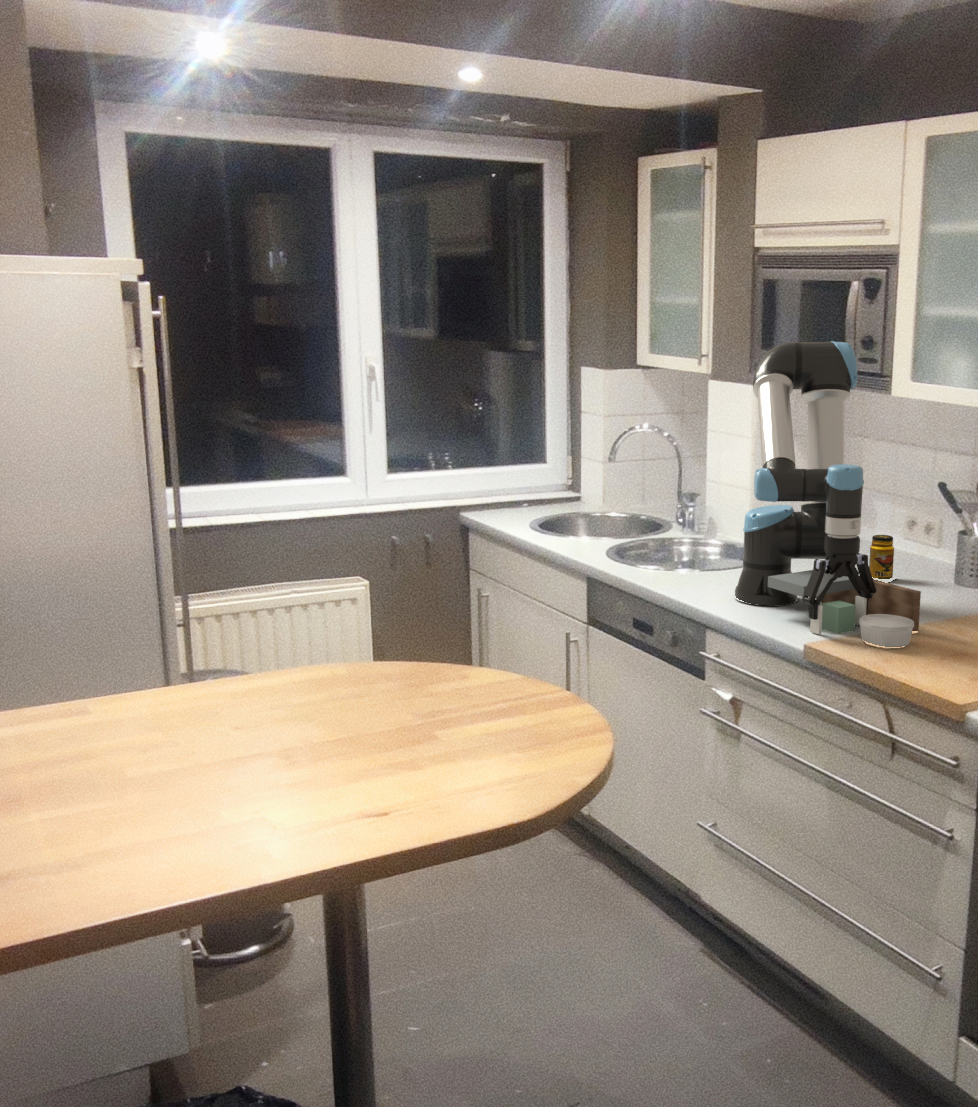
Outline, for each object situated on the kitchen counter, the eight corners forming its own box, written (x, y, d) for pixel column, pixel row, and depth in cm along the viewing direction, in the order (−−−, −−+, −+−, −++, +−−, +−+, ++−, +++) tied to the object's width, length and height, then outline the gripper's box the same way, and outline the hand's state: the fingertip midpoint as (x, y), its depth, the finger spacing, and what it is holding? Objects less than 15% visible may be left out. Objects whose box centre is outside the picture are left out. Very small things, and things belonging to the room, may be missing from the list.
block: (821, 629, 250) (822, 603, 249) (838, 626, 252) (839, 600, 251) (837, 634, 245) (838, 607, 244) (854, 631, 248) (855, 605, 246)
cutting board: (820, 607, 268) (822, 569, 266) (827, 606, 269) (828, 568, 267) (911, 634, 244) (914, 592, 242) (918, 633, 245) (920, 591, 243)
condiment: (886, 584, 291) (889, 539, 289) (856, 579, 297) (858, 535, 294) (898, 579, 296) (901, 535, 294) (868, 575, 302) (870, 531, 299)
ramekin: (896, 635, 244) (898, 612, 243) (923, 649, 233) (924, 625, 232) (848, 638, 242) (849, 614, 241) (873, 652, 231) (874, 628, 230)
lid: (767, 586, 260) (768, 576, 260) (819, 578, 267) (819, 568, 267) (803, 597, 250) (803, 586, 249) (856, 588, 257) (856, 578, 256)
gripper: (811, 543, 236) (807, 640, 240) (896, 532, 246) (890, 625, 251) (787, 537, 242) (784, 632, 246) (870, 527, 253) (865, 618, 257)
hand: (837, 629), depth 248 cm, fingers open, 12 cm apart
